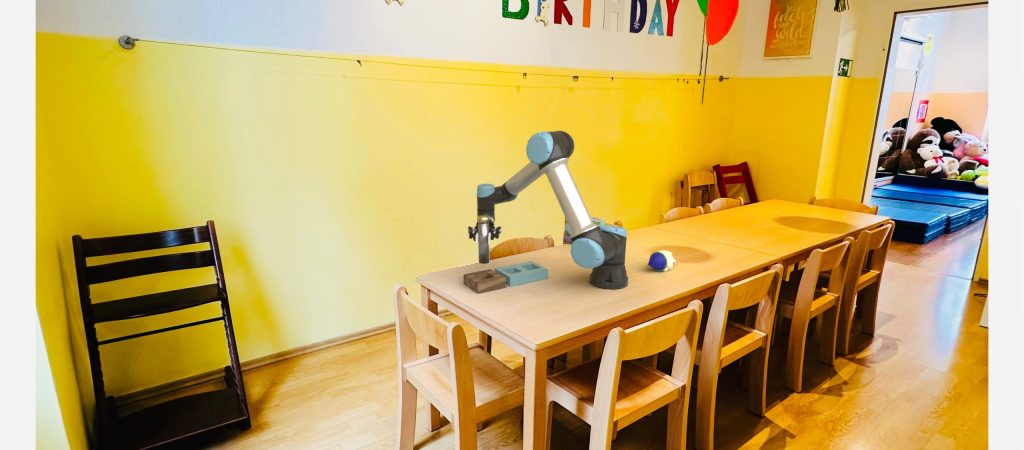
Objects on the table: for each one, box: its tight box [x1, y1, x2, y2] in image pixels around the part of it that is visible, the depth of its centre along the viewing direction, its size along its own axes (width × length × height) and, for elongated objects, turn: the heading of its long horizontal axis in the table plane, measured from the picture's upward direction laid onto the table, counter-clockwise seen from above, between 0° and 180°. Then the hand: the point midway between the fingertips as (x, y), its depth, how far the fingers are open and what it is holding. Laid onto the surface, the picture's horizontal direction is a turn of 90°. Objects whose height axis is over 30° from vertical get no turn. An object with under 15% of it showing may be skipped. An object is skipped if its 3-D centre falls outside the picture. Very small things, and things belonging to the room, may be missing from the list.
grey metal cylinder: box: [476, 215, 490, 265], centre depth 189 cm, size 4×4×18 cm
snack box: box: [563, 216, 607, 245], centre depth 246 cm, size 21×6×15 cm, turn 47°
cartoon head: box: [647, 249, 678, 273], centre depth 212 cm, size 9×10×20 cm
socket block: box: [463, 269, 507, 295], centre depth 193 cm, size 12×12×4 cm
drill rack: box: [494, 261, 549, 288], centre depth 202 cm, size 12×18×4 cm, turn 122°
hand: (483, 240), depth 184 cm, fingers closed on grey metal cylinder, 4 cm apart
